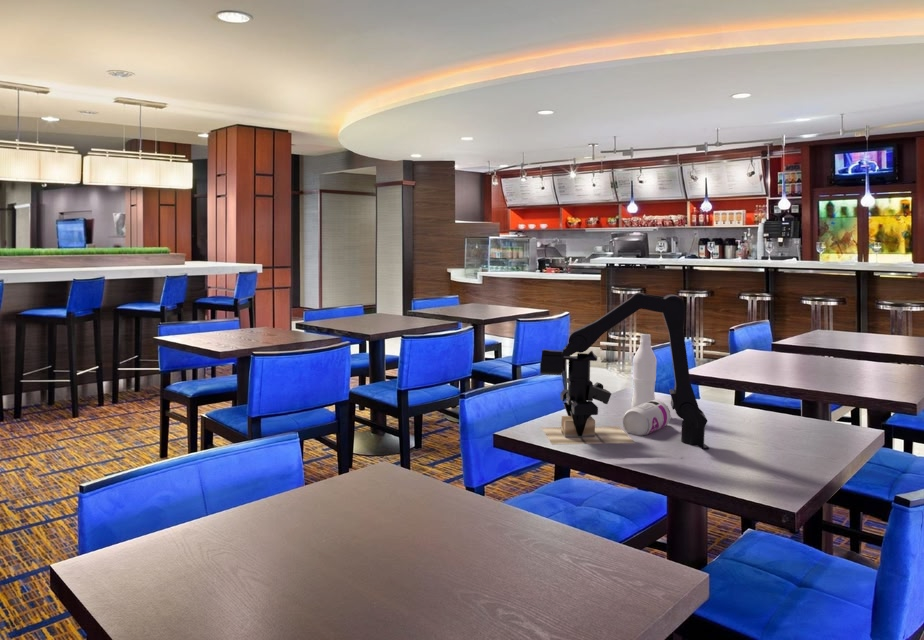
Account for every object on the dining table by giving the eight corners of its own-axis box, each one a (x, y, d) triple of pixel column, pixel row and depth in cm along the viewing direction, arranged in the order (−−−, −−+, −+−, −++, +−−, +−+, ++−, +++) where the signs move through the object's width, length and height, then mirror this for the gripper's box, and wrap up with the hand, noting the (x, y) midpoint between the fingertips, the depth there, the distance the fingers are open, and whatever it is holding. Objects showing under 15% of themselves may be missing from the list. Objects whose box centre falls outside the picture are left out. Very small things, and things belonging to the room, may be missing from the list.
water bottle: (657, 417, 206) (660, 336, 203) (634, 417, 206) (636, 336, 204) (651, 411, 213) (654, 333, 211) (629, 411, 213) (631, 333, 211)
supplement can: (676, 411, 191) (654, 421, 179) (662, 433, 194) (638, 445, 183) (653, 393, 195) (630, 402, 183) (639, 415, 198) (615, 425, 187)
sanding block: (594, 437, 180) (595, 420, 180) (564, 437, 180) (565, 420, 179) (590, 431, 185) (590, 415, 185) (561, 432, 185) (561, 415, 184)
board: (635, 447, 175) (635, 442, 175) (551, 448, 174) (551, 444, 174) (618, 430, 191) (618, 426, 191) (541, 431, 190) (541, 427, 190)
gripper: (618, 383, 172) (616, 442, 174) (599, 369, 190) (598, 423, 192) (575, 383, 171) (573, 443, 173) (560, 369, 190) (559, 424, 192)
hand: (577, 433), depth 182 cm, fingers closed on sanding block, 5 cm apart
